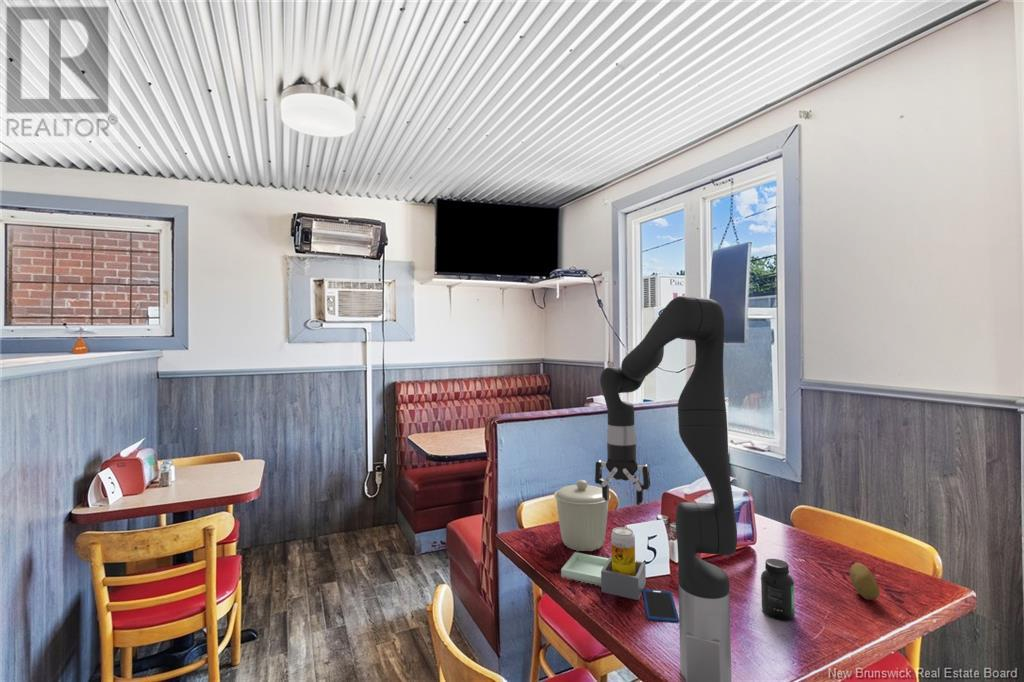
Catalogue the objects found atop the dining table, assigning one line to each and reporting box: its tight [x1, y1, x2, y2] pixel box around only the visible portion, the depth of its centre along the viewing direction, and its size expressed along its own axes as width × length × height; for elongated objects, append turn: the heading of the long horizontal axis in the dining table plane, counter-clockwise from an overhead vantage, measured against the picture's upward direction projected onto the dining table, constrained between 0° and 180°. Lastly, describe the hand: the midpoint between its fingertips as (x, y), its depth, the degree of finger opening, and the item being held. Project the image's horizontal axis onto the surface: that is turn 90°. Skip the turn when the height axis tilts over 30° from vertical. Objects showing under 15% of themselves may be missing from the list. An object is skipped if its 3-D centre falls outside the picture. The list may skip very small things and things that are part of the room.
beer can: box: [610, 526, 636, 576], centre depth 126 cm, size 6×6×15 cm
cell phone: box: [642, 588, 679, 624], centre depth 117 cm, size 7×14×1 cm, turn 169°
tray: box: [560, 551, 610, 587], centre depth 134 cm, size 12×12×2 cm
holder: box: [600, 555, 647, 601], centre depth 126 cm, size 10×10×6 cm
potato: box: [849, 562, 881, 601], centre depth 119 cm, size 7×8×8 cm
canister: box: [553, 479, 611, 552], centre depth 152 cm, size 18×18×21 cm
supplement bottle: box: [760, 558, 796, 622], centre depth 112 cm, size 7×7×12 cm
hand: (622, 502), depth 126 cm, fingers open, 8 cm apart
